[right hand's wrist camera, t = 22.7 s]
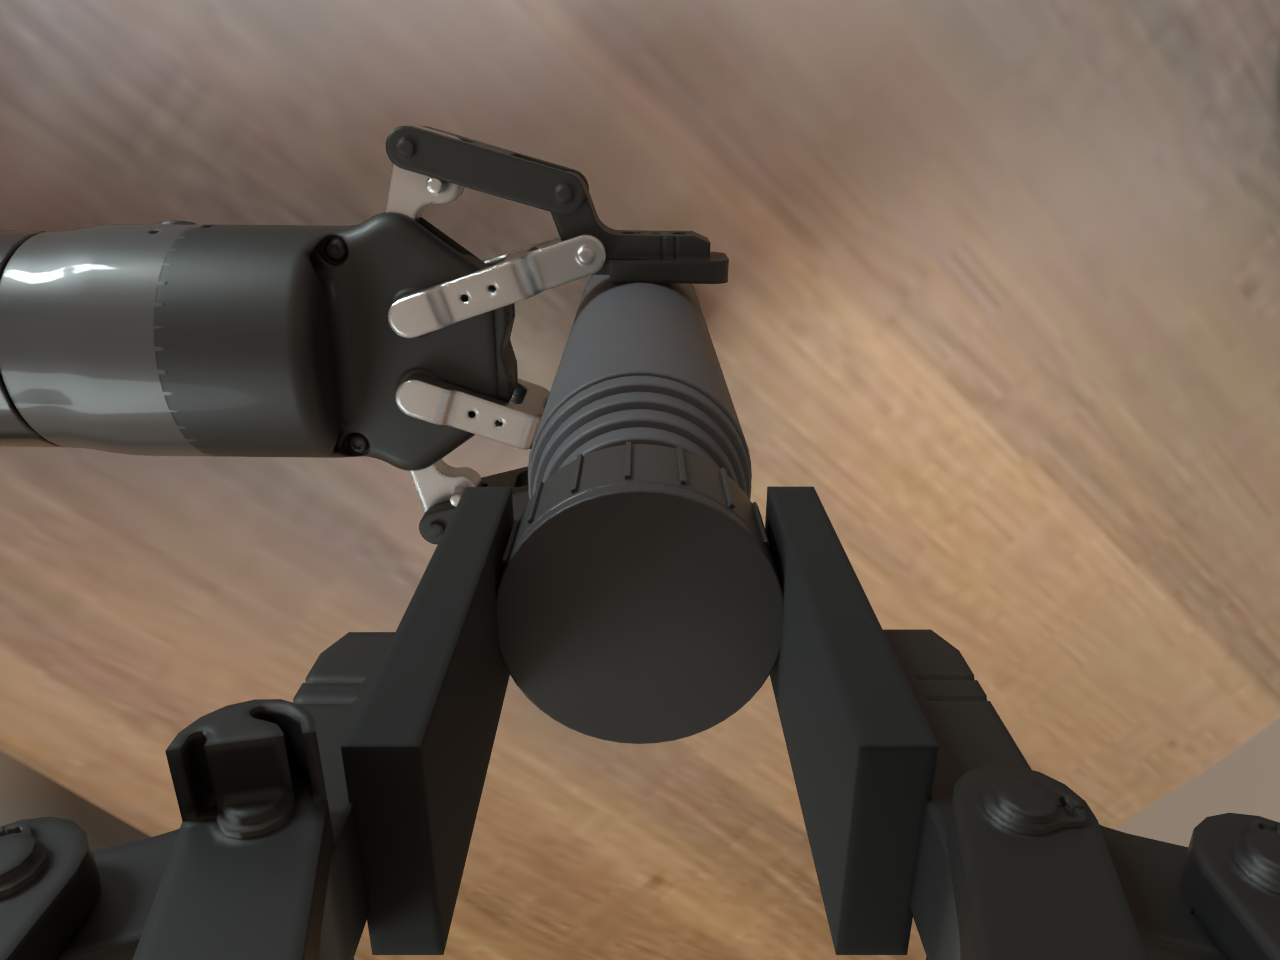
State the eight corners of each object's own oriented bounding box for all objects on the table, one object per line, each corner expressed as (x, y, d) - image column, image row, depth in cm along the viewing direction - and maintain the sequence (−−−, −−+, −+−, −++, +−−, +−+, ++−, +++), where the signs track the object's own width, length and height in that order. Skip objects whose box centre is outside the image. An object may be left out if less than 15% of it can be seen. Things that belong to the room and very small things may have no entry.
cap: (513, 672, 16) (496, 745, 14) (502, 437, 14) (481, 484, 12) (760, 674, 16) (777, 748, 14) (778, 440, 14) (799, 487, 12)
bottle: (570, 353, 36) (468, 691, 14) (594, 238, 34) (519, 426, 13) (681, 379, 36) (743, 745, 15) (711, 266, 34) (828, 496, 13)
